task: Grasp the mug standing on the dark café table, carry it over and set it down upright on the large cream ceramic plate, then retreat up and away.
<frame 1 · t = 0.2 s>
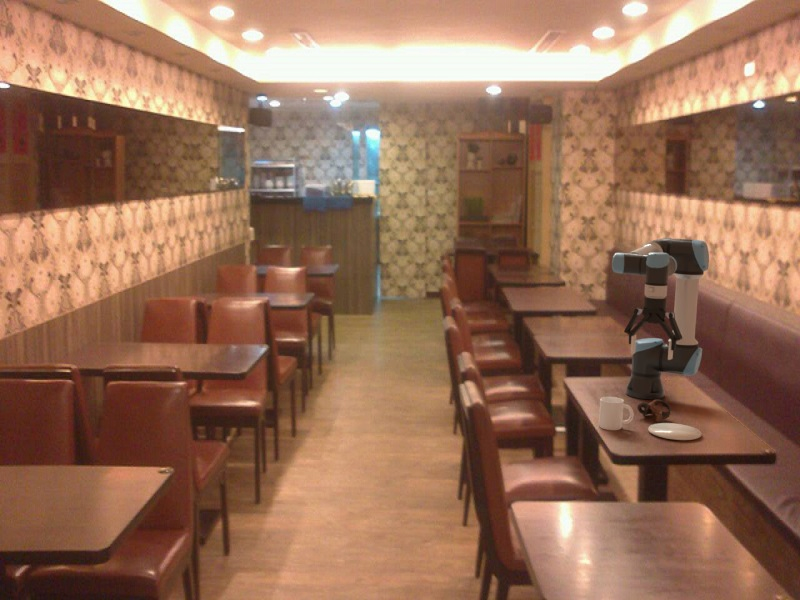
hand: (651, 356, 327), 27 cm above the table, fingers open, 13 cm apart
brown twisted loop piece: (652, 419, 346), on the table
mug: (615, 428, 334), on the table
serving plate: (674, 433, 328), on the table
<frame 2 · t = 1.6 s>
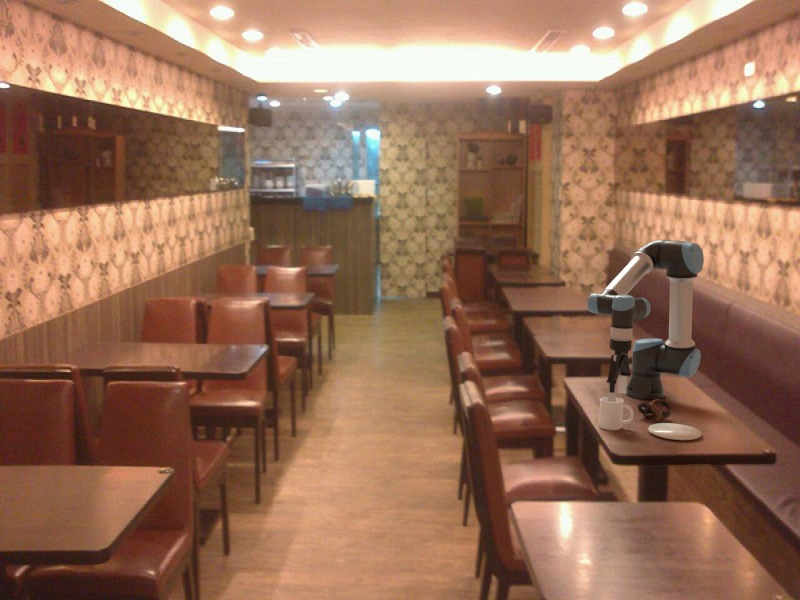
hand: (617, 397, 332), 11 cm above the table, fingers open, 13 cm apart
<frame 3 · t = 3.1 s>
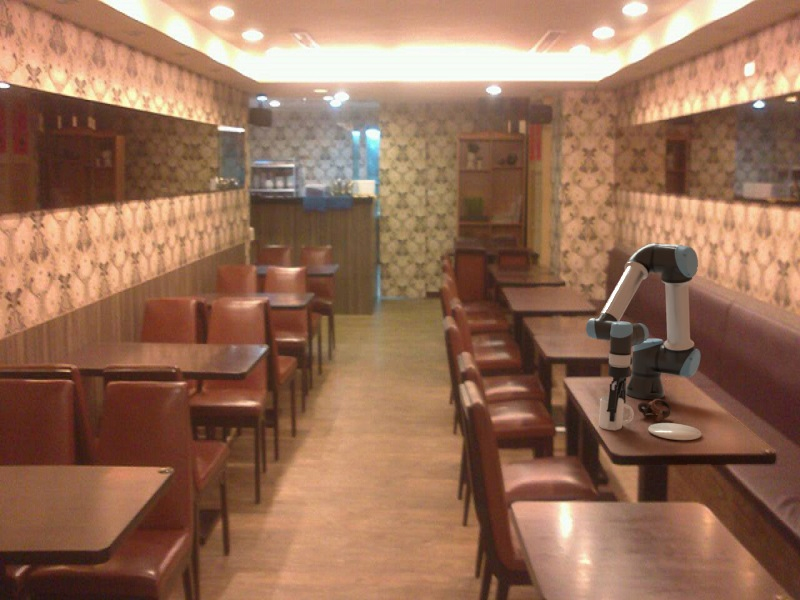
hand: (615, 426, 334), 0 cm above the table, fingers closed on mug, 8 cm apart
mug: (615, 428, 334), on the table, touching gripper
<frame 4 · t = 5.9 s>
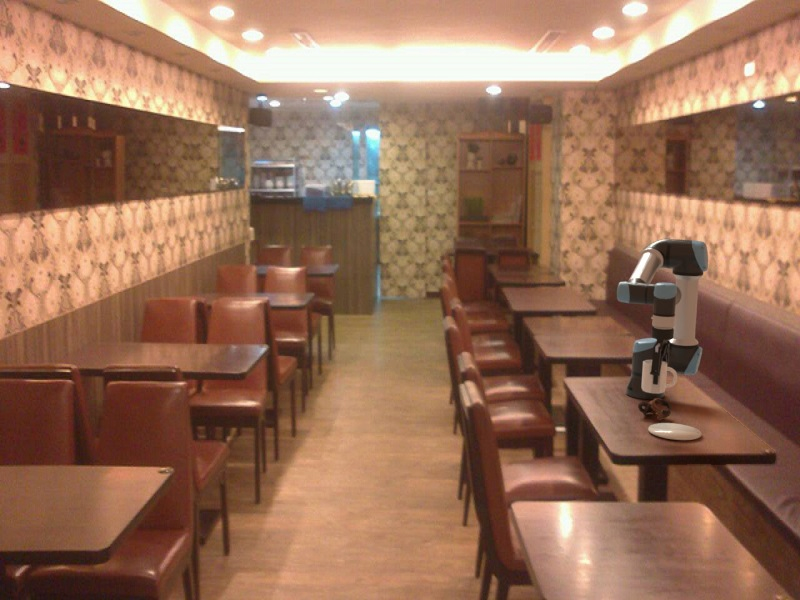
hand: (658, 390, 327), 15 cm above the table, fingers closed on mug, 8 cm apart
mug: (658, 391, 328), point 15 cm above the table, touching gripper
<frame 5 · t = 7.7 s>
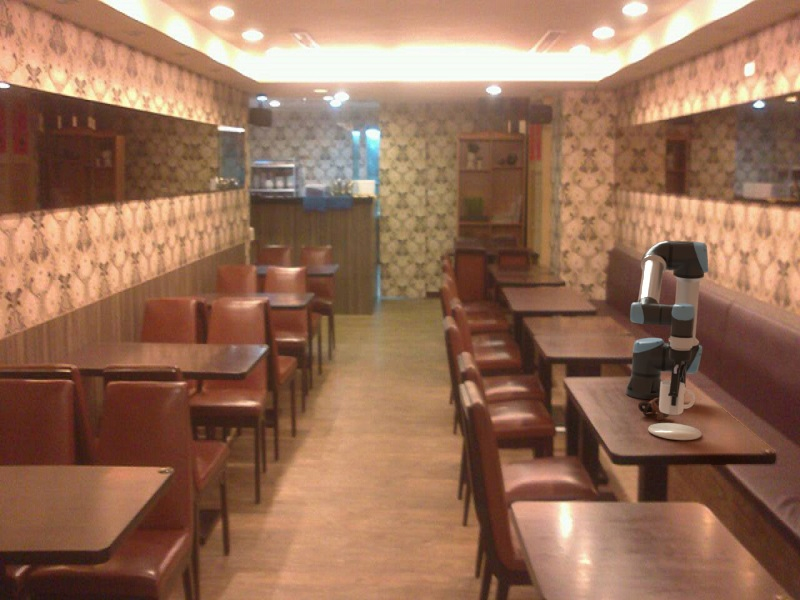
hand: (676, 411, 327), 8 cm above the table, fingers closed on mug, 8 cm apart
mug: (676, 412, 327), point 8 cm above the table, touching gripper
when the fingers open (4 cm above the table, at t = 9.0 s): mug drops 2 cm, resting on serving plate.
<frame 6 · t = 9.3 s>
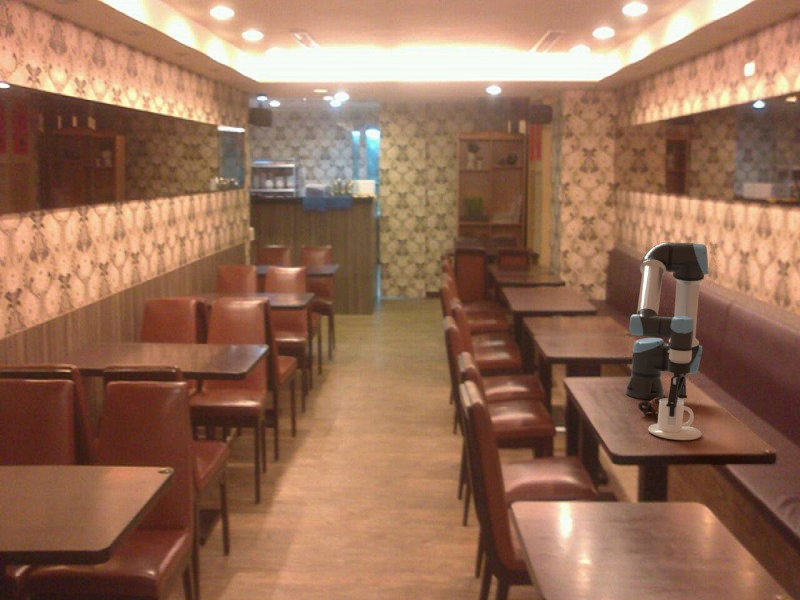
hand: (675, 420, 327), 5 cm above the table, fingers open, 12 cm apart
mug: (674, 430, 328), point 1 cm above the table, touching serving plate
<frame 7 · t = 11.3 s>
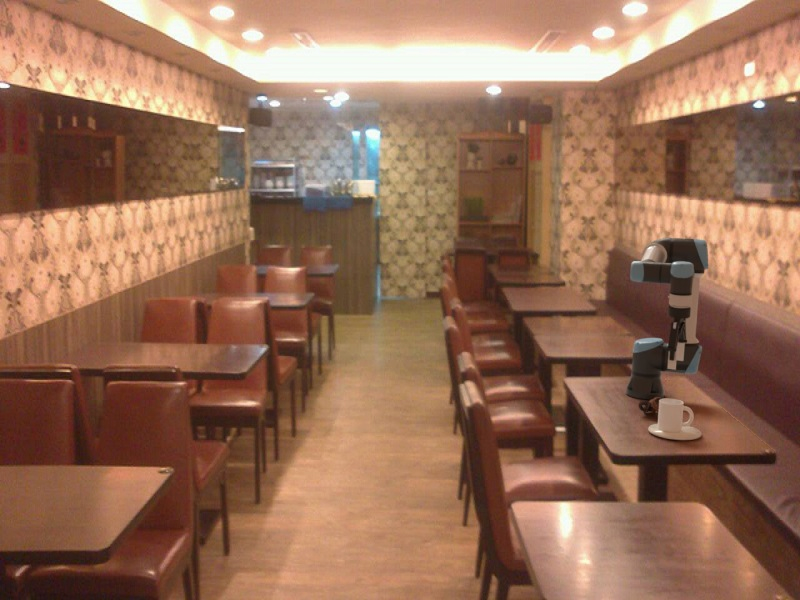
hand: (675, 364, 329), 24 cm above the table, fingers open, 13 cm apart
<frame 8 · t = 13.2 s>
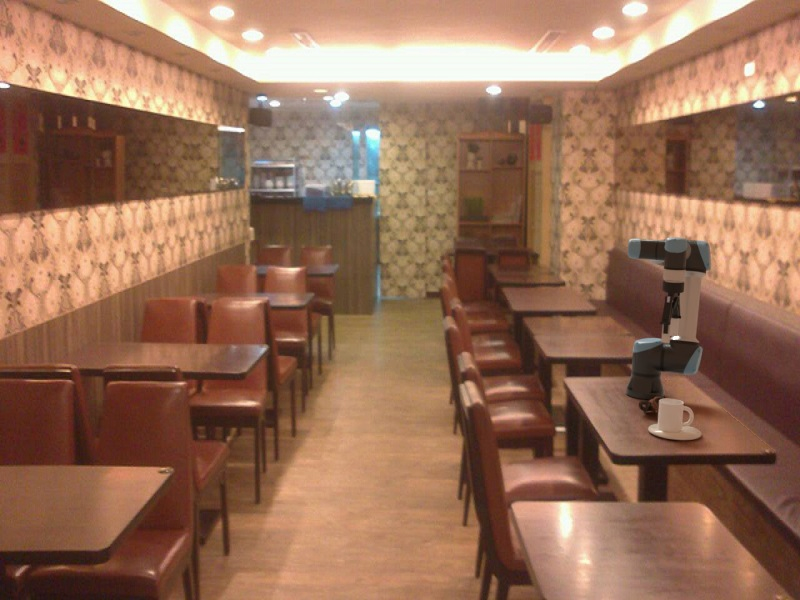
hand: (669, 339, 334), 32 cm above the table, fingers open, 13 cm apart
at the end: mug inside the target area on the serving plate (0.6 cm from its centre), point 1.0 cm above the serving plate's base; mug tilted 0°; the gripper is holding nothing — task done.
